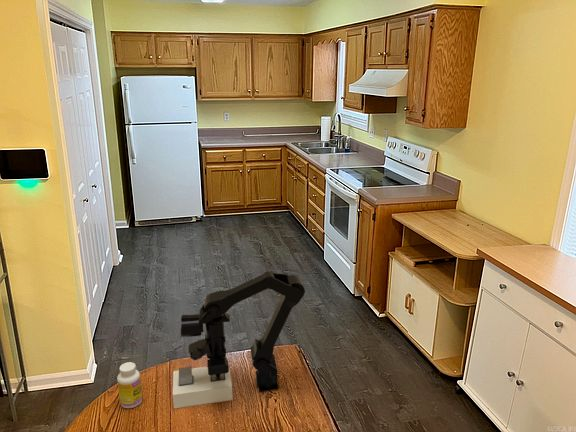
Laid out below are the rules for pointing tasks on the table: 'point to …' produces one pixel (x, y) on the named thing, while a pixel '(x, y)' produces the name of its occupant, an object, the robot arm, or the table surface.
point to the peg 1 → (185, 376)
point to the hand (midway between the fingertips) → (217, 375)
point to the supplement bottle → (129, 385)
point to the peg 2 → (217, 377)
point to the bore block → (201, 389)
